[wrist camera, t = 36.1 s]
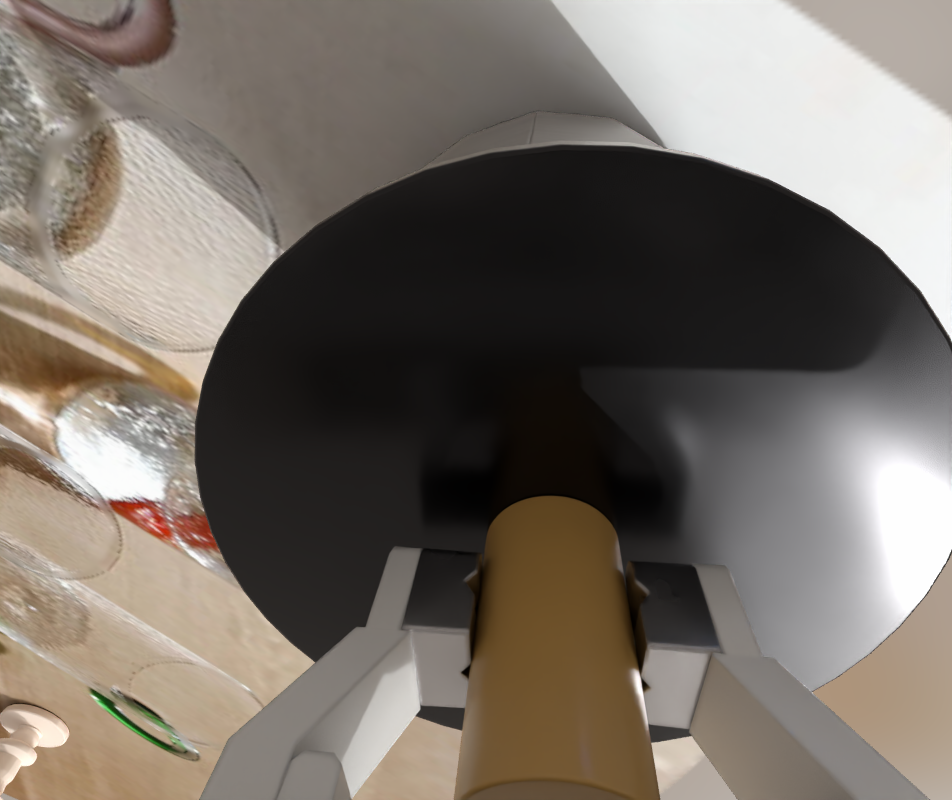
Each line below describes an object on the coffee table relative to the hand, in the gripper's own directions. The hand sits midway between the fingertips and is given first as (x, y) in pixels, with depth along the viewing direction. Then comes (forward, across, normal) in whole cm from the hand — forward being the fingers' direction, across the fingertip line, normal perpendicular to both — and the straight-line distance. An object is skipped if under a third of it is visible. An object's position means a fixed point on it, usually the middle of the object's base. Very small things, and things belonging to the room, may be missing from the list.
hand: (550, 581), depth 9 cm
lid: (+2, 0, 0) cm, 2 cm away
